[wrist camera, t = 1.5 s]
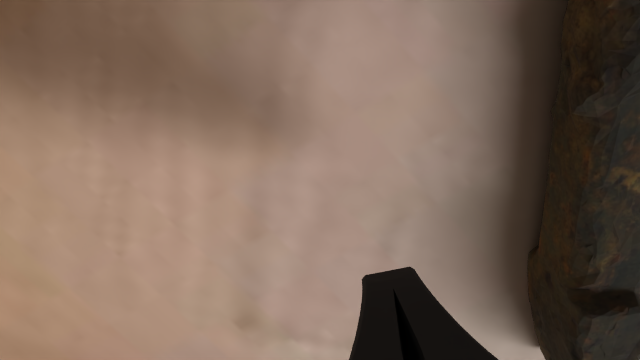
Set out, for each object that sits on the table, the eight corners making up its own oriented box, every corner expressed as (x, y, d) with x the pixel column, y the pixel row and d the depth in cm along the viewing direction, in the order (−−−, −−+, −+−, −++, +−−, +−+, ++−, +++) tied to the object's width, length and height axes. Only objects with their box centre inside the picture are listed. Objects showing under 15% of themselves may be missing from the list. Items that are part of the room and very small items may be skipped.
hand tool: (547, -152, 14) (652, -180, 10) (692, -160, 14) (857, -191, 10) (479, 350, 23) (520, 446, 19) (568, 344, 23) (627, 439, 19)
